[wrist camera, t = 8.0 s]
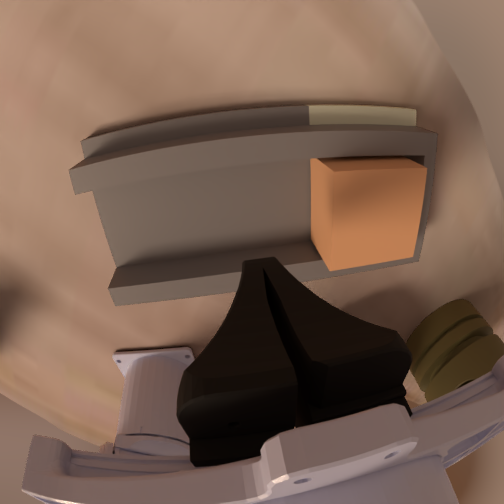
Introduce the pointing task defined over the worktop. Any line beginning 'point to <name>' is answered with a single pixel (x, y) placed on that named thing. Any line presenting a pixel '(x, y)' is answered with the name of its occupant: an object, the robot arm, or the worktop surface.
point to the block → (365, 208)
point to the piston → (452, 349)
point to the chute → (230, 192)
